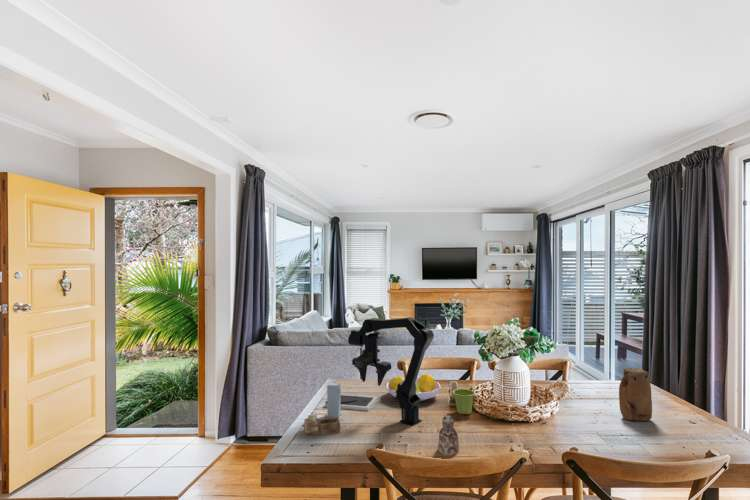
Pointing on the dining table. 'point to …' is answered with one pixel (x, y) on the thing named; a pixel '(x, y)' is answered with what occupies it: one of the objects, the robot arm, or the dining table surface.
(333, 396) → the light blue tall bar
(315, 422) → the offcut stack
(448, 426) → the figurine
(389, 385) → the fruit bowl
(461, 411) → the plant pot
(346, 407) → the picture frame
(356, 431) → the dining table surface
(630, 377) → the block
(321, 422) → the rack
